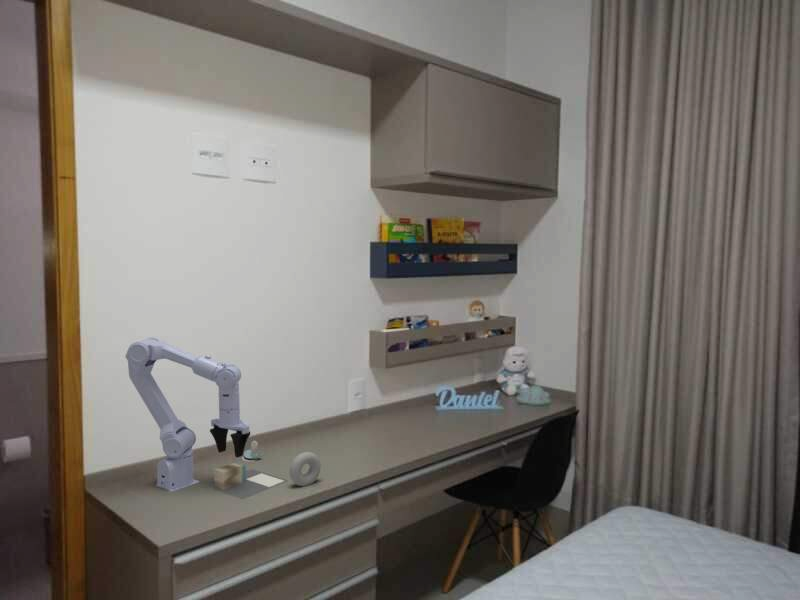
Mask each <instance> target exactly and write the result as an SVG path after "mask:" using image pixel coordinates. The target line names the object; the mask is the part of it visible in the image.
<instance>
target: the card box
mask: <svg viewBox="0 0 800 600" xmlns="http://www.w3.org/2000/svg"><path fill="white" fill-rule="evenodd" d="M246 467H247V466H246V464H245V463H241V462H239V461H236V462H233V463H230V464H227V465H224V466H220V467H218V468H214V470H213V471H214V472H213V474H214V475H213V476H214V477H213V478H214V479H213V480H214V481H213V483H214V487H217V488H220V489H223V490H224V489H227V488H229V487H232V486H235V485H237V484H240V483H243V482H245V481H246V471H247V470H246V469H247V468H246Z"/></svg>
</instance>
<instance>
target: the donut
mask: <svg viewBox="0 0 800 600" xmlns="http://www.w3.org/2000/svg"><path fill="white" fill-rule="evenodd" d="M307 464H308V466H309V467H308V471H307V472H306V473H305V474H303V473H302V469H303V467H304V466H305V465H307ZM321 469H322V467H321V461H320V459H319V457H318V455H316V454H315V453H314V452H311V451H303V452H301V453H298V455H296V456H295V457H294V458H293V460H292V461H291V464H290V466H289V477H290V480H291V481H292V483H294V484H295V485H296V486H298V487H299V486H300V487H305V486H309V485H312V484H313V483H314V482H316V480H317V479H318V477H319V476H320V473H321Z"/></svg>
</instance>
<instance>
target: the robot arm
mask: <svg viewBox="0 0 800 600" xmlns="http://www.w3.org/2000/svg"><path fill="white" fill-rule="evenodd" d="M125 358H126V360H127V365H128V366H127V368H128V376H129V379H130V381H131V382H132V384H133V386H134V388H135V390H136V391H137V393H138V394H139V396H140V397H141V399H142V401H143V403H144V405H145V406H146V408H147V409H148V411H149V413H150V415H151V416H152V417H153V419H154V420H155V422H156V424H157V426H158V428H159V429H160V433H159V440H160V442H161V444H162V451H163V453H164V454H165V455H166V456H165V457H164V458H162V459H161V460H159V461H158V462H157V466H156V470H157V471H156V475H157V476H156V479H157V483H156V485H155V486H156V487H159V488H161V489H163V490H166V491H169V492H174V491H178V490H180V489H183V488H186V487H188V486H192V485H195V484H197V483H200V480H197V479H194V450H193V446H194V445H195V443H196V441H197V436H196V434H195V432H194V430H192V429H191V428H190V427H189V426H188V425H187V424H186V423H185V421H183V420H181V419H178V416H177V415H176V413H175V411H174V410H173V408H172V407H171V405H170V404H169V402H168V400H167V398H166V397H165V395H164V393H163V392H162V390H161V388H160V387H159V385H158V383H157V382H156V380H155V378H154V376H153V375H152V371H153V368H154V365H155V363H156V362H157V361H158V360H164V359H166V360H169V361H171V362H174V363H177V364H179V365H182V366H185V367H188V368H191V371H192V373H193V374H195V375H196V376H199V377H202V378H204V379H207V380H208V381H211V382H215V385H217V387H218V418H213V419H210V425H211V427H213V428H210V429H209V433H210V434H211V436H212V437H213V439H214V442H215V445H216V447H217V452H218V453H224V452H226V451H227V450H226V449H227V438H228V432H229V430H230V431H233V432H234V431H235V432H234V433H231V434H230V437H231V440H232V443H233V448H234V456H235V458H241V457H244V452H245V448H246V443H247V441H248V439H249V438H250V435H251V431H250V426H249V425H247V424H245V423H243V420H242V419H241V416H240V415H241V414H240V412H241V411H240V410H241V409H240V405H241V403H240V384H239V382H240V380H241V378H242V372H241V369H240V368H239V367H238V366H237V365H235V364H227V362H224V361H223V362H220V361H218V360H216V359H213V358H212V356H211V355H210V354H207V355H204V354H203V355H200V356H196V355H195V356H194V355H193V354H191V353H188V352H187V351H184V350H183V349H180V348H178V347H177V346H174V345H172V344H170V343H168V342H166V341H164V340H159V339H158V338H155V337H149V338H146V339H144V340H140V341H135V342H133V343H131V344H130V345H129V347H128V349H127V350H126V354H125Z"/></svg>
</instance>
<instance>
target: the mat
mask: <svg viewBox="0 0 800 600" xmlns="http://www.w3.org/2000/svg"><path fill="white" fill-rule="evenodd" d="M288 481H289V479H284V478H281V477H279V476H275V475H272V474H269V473H266V472H264V471H263V472H262V471H259V470H256V469H254V468H251V469H248V470H246V481H245V482H243V483H240V484H237V485H235V486H232V487H229V488H227V489H224V490H223V489H220V488H217V487H214V482H211V483H209V484H207V485H205V486H206V487H209V488H211V489H214V490H216V491H220V492H221V493H222V492H223V493H225V494H227V495H230V496H233V497H236V498H239V499H241V500H245V499H248V498H249V497H252V496H255V495H257V494H259V493H261V492H264V491H267V490H269V489H271V488H274V487H276V486H278V485H280V484H283V483H286V482H288Z"/></svg>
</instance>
